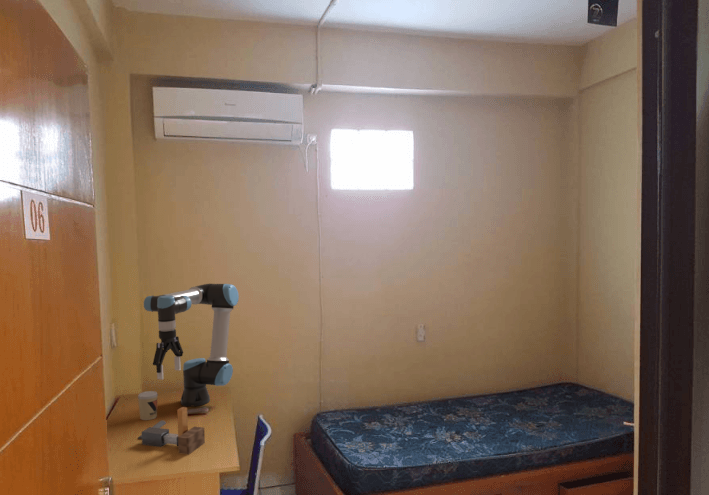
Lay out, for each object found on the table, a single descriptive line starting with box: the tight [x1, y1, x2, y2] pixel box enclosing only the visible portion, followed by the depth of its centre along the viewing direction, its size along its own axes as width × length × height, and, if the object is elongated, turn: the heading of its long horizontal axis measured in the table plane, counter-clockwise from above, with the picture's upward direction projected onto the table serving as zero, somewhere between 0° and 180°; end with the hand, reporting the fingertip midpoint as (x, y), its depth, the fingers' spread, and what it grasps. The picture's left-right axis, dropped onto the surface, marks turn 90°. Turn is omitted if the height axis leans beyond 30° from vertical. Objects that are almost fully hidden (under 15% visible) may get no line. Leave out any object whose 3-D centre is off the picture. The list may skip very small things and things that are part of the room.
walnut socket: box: [177, 426, 206, 456], centre depth 232 cm, size 12×5×7 cm, turn 163°
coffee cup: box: [137, 390, 159, 421], centre depth 269 cm, size 9×9×12 cm
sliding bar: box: [162, 406, 189, 448], centre depth 234 cm, size 4×20×16 cm, turn 73°
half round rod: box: [137, 420, 167, 440], centre depth 252 cm, size 4×20×2 cm, turn 172°
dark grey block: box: [141, 426, 170, 448], centre depth 237 cm, size 6×10×6 cm, turn 73°
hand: (169, 374), depth 248 cm, fingers open, 13 cm apart
